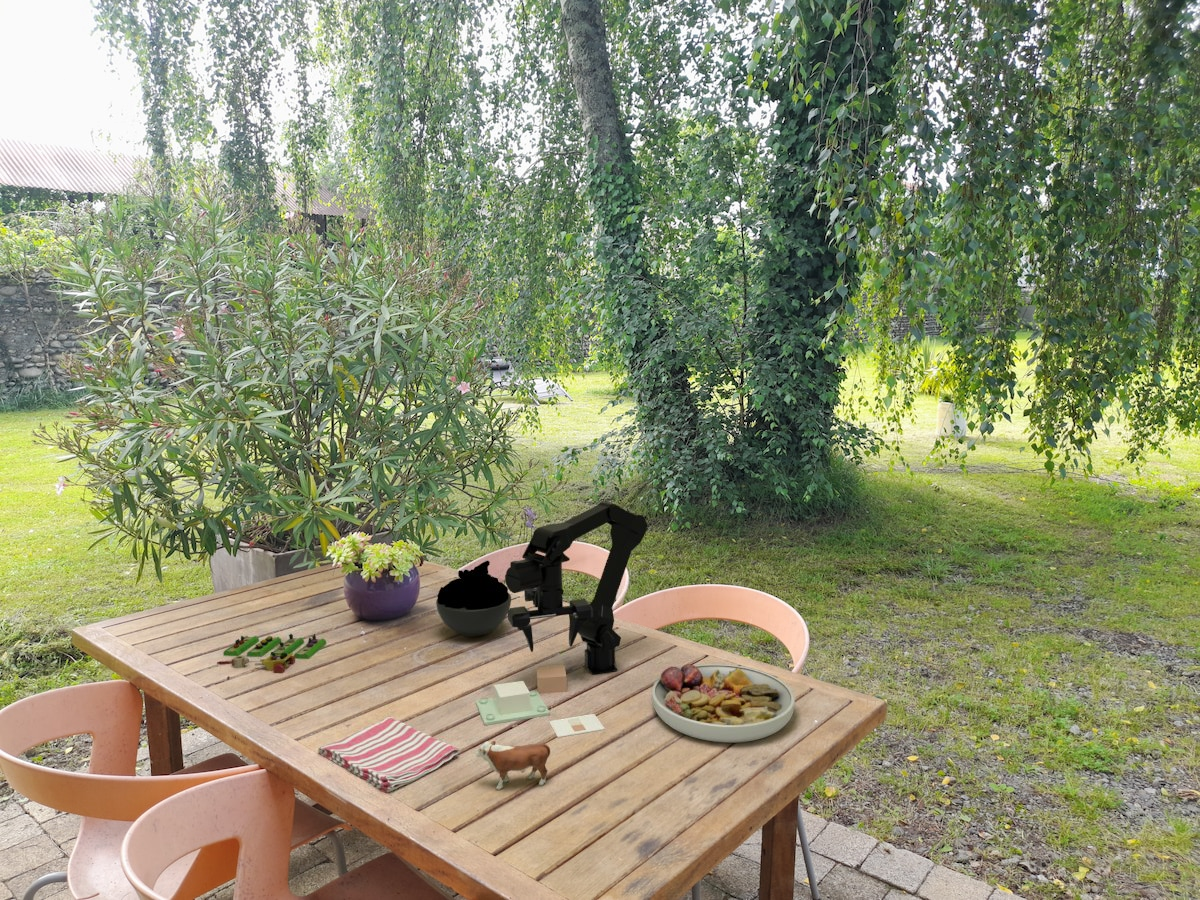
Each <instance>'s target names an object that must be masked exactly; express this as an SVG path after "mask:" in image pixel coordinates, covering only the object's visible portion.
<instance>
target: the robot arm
mask: <svg viewBox="0 0 1200 900" xmlns="http://www.w3.org/2000/svg"><path fill="white" fill-rule="evenodd" d="M606 524H608V525H610V526H611V527H610V539H611V547H610V549H609V553H608V555H607V556H608V557H607V559H606V562H605V565H604V566H603V567H604V568H603V571H602V573H601V575H600V579H599V582H598V584H597V588H596V591H595V594H594V596H593V600H592V601H591V602H590V603H589V602H588V601H587V600H586V599H585V598H581V599H571V600H570V601H569V605H565V606H564V604H563V603H564V602H563V600H564V599H563V598H564V597H563V595H564V589H563V563H565V562H569V561H571V560H570V559H571V558H570V557H568V556H567V555H566V554H565V552H566V551H567V550H568V549H570V548H571V546H572V544H573V542H574V541H575V540H577V539H579V538H580V537H581V538H582V536H585V535H586V534H588V533H590V532H592V531H594V530H596V529H598V528H600V527H601V526H603V525H606ZM647 531H648V522H647V520H646V517H644V516H643V515H641V514H639V513H633V512H630V511H628V510H626V509H624V508H622V507H620V506H618V504H617V503H612V502H607V501H601V502H598V504H597V505H596V506H593V507H591V508H590V509H588V510H585V511H583V512H582V513H579V514H578V515H575V516H573V517H571V518H570V519H568V520H566V521H562V522H560V523H559V522H558V523H551V524H550V523H549V524H546V525H542V526H539V527H537V528H536V529H535V530H533V534H532V536H531V539H530V541H529V543H528V544H527V547H526V548H525V550H524V552H523V555H522V558H523V559H521V560H513V561H510V567H508V568H507V570H506V572H505V575H504V581H505V584H506V585H505V586H507V588H508V591H510V593H513V594H517V593H521V592H524V594H523V595H524V601H525V603H526V602H532V605H533V606H534V607H535V608H537V609H532V610H528V609H527V608H526V606H517V607H516V606H515V607H510V609H509V610H508V614H507V620H508V622H509V624H510V625H511V627H512V628H517V630H518V631H522V632H523V635H524V637H525V640H526V643H527V644H528V649H529V650H530V651H529V652H531V653H534V637H533V629H532V628H533V627H532V625H531V620H536V619H543V618H552V617H559V616H566V615H567V616H568V619H569V620H568V621H569V627H568V629H569V630H568V644H569V647H570V648H571V647H572V646H574V643H575V640H576V638H577V635H579V636H580V639H581V641H582V642H585V643H586V649H584V666H585V667H586V669H588V672H590V674H591V675H597V674H605V673H610V672H617V671H618V667H617V666H616V650H615V649H616V648H618V647H619V646H620V643H621V640H622V637H621V636H620V635H619V634H618V633H617V632H616V631H615V630H614V629H613V628H614V623H615V616H614V611H613V607H614V604H615V600H616V599H617V595H618V592H619V590H620V589H619V588H620V586H621V583H622V580H623V577H624V574H625V571H626V569H627V566H628V563H629V559H630V557H631V553H632V551H634V550H635V549H636V547H638V546H639V545H640V544H641V543H642V541H643V539H644V537H645V535H646V533H647ZM537 552H538V553H537ZM540 553H541V554H540ZM543 554H545V555H543Z"/></svg>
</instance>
